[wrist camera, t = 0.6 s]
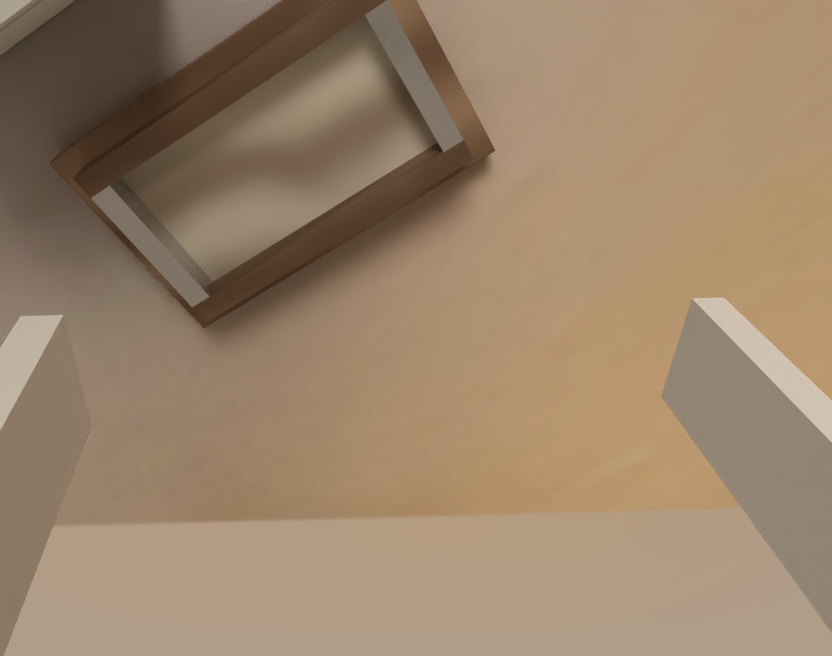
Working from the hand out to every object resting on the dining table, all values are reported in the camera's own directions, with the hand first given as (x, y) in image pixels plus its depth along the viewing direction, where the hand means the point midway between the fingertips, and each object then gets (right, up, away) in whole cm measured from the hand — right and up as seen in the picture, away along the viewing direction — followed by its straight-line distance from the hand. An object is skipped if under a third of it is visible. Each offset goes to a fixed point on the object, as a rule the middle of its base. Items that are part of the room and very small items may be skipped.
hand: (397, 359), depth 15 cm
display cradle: (-7, +11, +23) cm, 26 cm away
